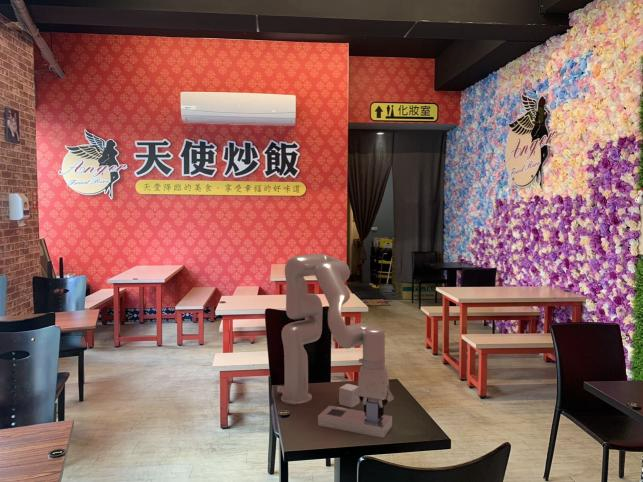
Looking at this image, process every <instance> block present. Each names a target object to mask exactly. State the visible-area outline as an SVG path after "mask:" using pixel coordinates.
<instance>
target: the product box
mask: <svg viewBox="0 0 643 482" xmlns="http://www.w3.org/2000/svg"><path fill="white" fill-rule="evenodd" d="M357 388H358V385H357V386H356V384H355V385H354V384H351V383H346V384H344V385H342V386H340V387H338V398H339V399H338V405H341V406H343V407H348V408H350V409H353V408H354V407H356V406H357V405H359V404H360V403H361V400H360V399H359V397H357V396H356V395H355V394H354V393H355V391H356V390H357Z"/></svg>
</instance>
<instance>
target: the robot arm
mask: <svg viewBox="0 0 643 482" xmlns="http://www.w3.org/2000/svg"><path fill="white" fill-rule="evenodd" d="M312 276H313V277H314V276H315V278H316V280H317V282H318V285H319V286H320V288H321V289H320V290H321V291H322V293H323V295H324V297H325V299H326V301H327V303H328V310H327V324H328V325H327V326H328V328H329V331H330V332H331V335H332V336H333V338H334V340H335V342H336V343H337V345H338V346H340V347H341V348H343V349H351V348H354V347H357V346H362V358H359V359H358V363H359V364H360V363H361V365H362V366H360V368H359V374H358V383H357V386H358V388H357V390H356V391H355V393H354V394H355V395H356V396H357V397H359V399H360V402H362V405H363V411H364V413H365V416H366V402H367V401H368V400H369V399H377V400H378V401H379V407H378V419H380V418H381V417H382V416H383V415H385V406H386V405H387V404H388V403H390V402H392V401H393V400H394V398H395V397H394V396H393V394H392V392H391V390H390V382H389V373H388V370H387V367H386V362H385V358H386V349H385V347H386V346H385V345H386V341H385V340H386V338H385V337H386V335H385V334H386V333H385V330H384V329H383V328H382V327H379V326H372V325H370V324H367V323H365V322H358V323H354V324H348V325H346V323H345V321H344V319H343V315H342V308H343V306H344V305H345V304H346V303H347V302H348V301H349V300H350V298H351V295H350V292H349V290H348V289H347V286H346V284H345V282H347V281H348V280H349V278H350V276H351V270H350V267H349V265H348V264H347V263H346V262H345V261H343V260H341V259H339V258H336V257H332V256H330V255H327V254H325V253H313V254H301V255H296V256H293V257H290V258H289V259H288V260H287V261H286V263H285V267H284V277H285V283H286V285H285V286H286V291H285V311H286V316H287V317H288V318H289V319H290V320H298V321H294V322H290V323H288V324H287V323H286V324H285V325H284V326H283V327H282V330H281V341H282V345H283V355H284V357H283V359H284V360H283V362H284V365H283V366H284V386H282V385H277V388H276V393H281V394H282V395H281V396H280V400H281V402H282V403H284V404H287V405H295V406H296V405H300V404H301V405H302V404H306V403H308V402H310V401H311V400H312V399H313V395H312V393H310V392H309V361H308V359H309V356H308V353H307V350H306V349H305V347H304V345H306V344H310V343H315V342H317V341H318V340H319V339H320V338H321V335H322V332H323V303H322V300H321V297H320V296H319V295H317V294H315V293H311V292H310V293H308V283H307V281H306V279H305V277H312ZM301 319H304V320H301Z"/></svg>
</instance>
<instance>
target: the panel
mask: <svg viewBox="0 0 643 482" xmlns="http://www.w3.org/2000/svg"><path fill="white" fill-rule="evenodd" d="M317 426H319V427H323V428H325V427H326V428H329V429H334V430H341V431H346V432H351V433H356V434H362V435H367V436H372V437H377V438H382V439H383V438H385V437H386V435H387V434H388V432H389V431H390V430H391V428H392V427H393V416H392V415H387V414H384V415H383V416H382V417H381V422H380V423H379V424H378V423H372V422H367V421H366V416H365V413H364V410H358V409H353V408H345V407H340V406H335V405H328V406H326V408H324V410H323V411H321V412H320V414H317Z"/></svg>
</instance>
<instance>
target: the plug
mask: <svg viewBox="0 0 643 482" xmlns="http://www.w3.org/2000/svg"><path fill="white" fill-rule="evenodd" d="M378 407H379V401H378V399H373V398H369V400H368V401H367V402H366V421H367V422H372V423H378V424H379V423H380V422H381V418H380V419H378Z"/></svg>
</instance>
